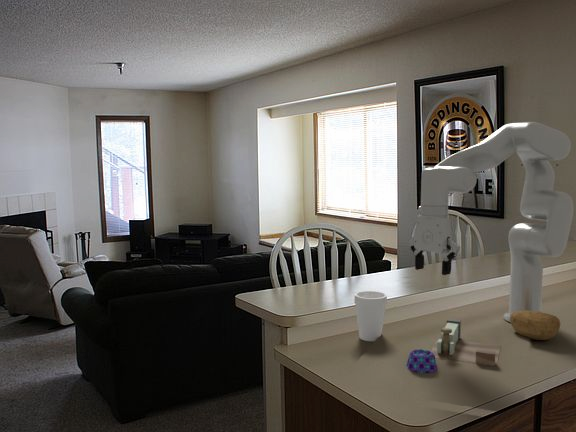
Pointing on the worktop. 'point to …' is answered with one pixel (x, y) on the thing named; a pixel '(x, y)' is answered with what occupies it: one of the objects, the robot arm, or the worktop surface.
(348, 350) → the worktop surface
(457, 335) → the leg
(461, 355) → the stool seat
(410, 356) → the purple spotted dome
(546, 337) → the potato
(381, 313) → the foam cup
